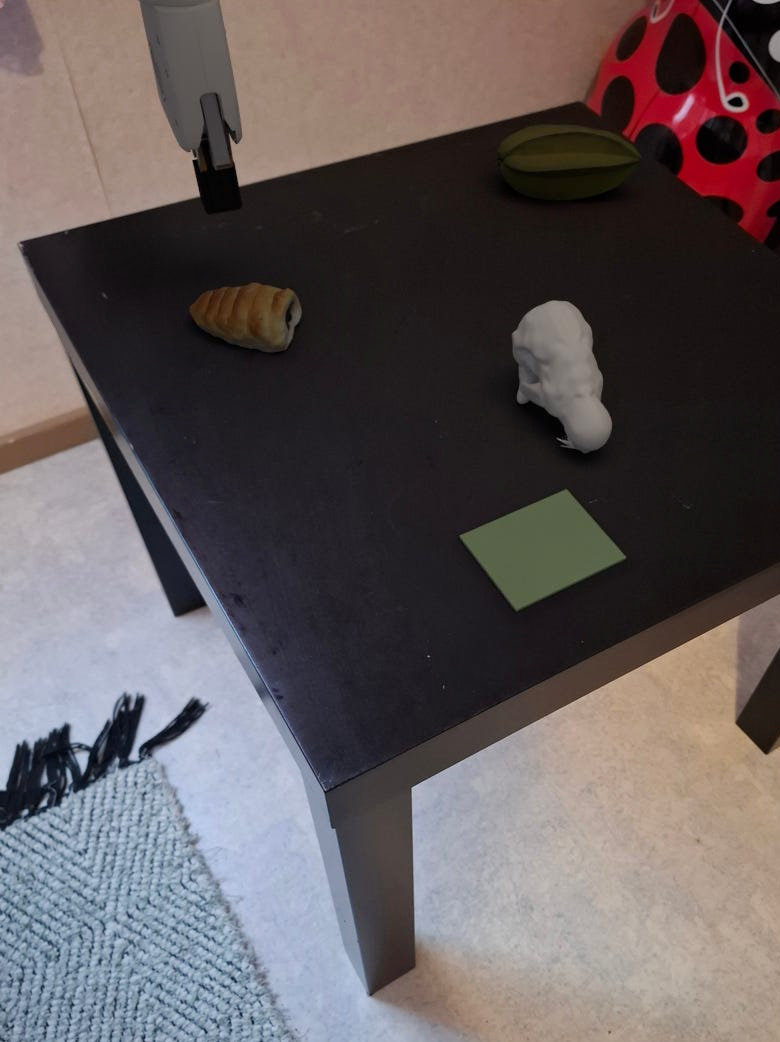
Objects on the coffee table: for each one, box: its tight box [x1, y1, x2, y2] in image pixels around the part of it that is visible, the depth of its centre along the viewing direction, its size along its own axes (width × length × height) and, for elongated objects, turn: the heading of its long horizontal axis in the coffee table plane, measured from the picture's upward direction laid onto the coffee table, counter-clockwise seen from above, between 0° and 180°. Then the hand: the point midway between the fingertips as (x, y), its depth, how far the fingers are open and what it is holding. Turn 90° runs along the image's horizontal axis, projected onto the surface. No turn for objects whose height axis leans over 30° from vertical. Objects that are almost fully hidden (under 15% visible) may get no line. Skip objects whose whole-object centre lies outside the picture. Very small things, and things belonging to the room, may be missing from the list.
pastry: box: [189, 282, 303, 353], centre depth 80 cm, size 9×7×4 cm
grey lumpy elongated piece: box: [511, 300, 613, 454], centre depth 74 cm, size 6×8×12 cm
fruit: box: [496, 123, 643, 201], centre depth 94 cm, size 11×12×7 cm
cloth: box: [458, 488, 627, 613], centre depth 69 cm, size 10×8×1 cm
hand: (222, 206), depth 79 cm, fingers closed
